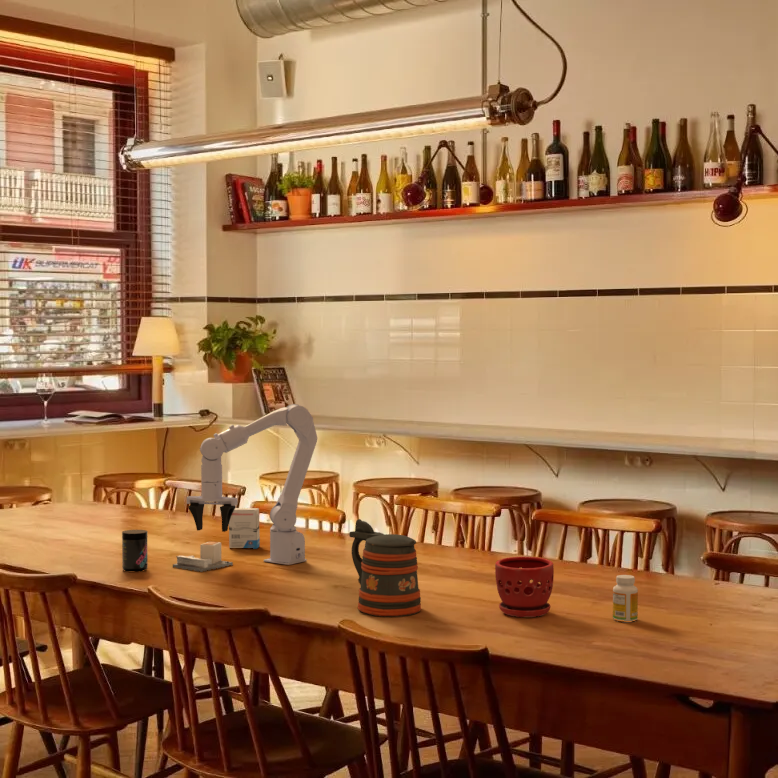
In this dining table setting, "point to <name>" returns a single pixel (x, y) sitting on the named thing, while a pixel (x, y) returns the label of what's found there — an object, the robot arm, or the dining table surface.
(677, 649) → the dining table surface
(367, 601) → the beer stein
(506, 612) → the plant pot
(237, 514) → the ink box
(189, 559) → the rail plate
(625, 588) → the supplement bottle
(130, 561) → the supplement container
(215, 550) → the block
